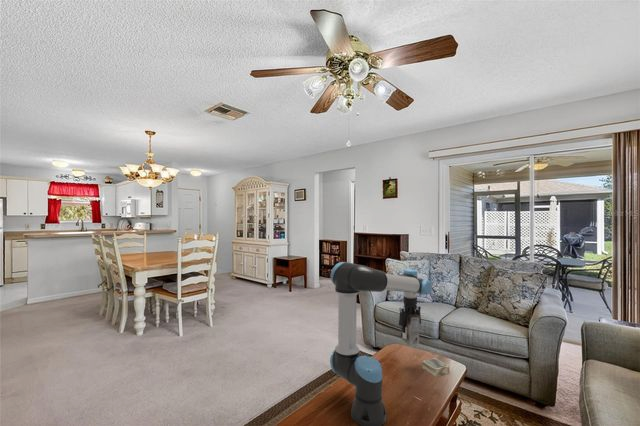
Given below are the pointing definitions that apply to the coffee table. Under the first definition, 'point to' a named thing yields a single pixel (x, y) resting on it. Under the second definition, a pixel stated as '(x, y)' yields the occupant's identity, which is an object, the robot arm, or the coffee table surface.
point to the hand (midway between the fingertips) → (409, 337)
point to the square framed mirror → (435, 367)
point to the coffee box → (412, 329)
